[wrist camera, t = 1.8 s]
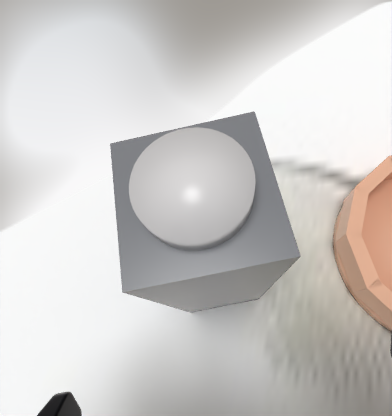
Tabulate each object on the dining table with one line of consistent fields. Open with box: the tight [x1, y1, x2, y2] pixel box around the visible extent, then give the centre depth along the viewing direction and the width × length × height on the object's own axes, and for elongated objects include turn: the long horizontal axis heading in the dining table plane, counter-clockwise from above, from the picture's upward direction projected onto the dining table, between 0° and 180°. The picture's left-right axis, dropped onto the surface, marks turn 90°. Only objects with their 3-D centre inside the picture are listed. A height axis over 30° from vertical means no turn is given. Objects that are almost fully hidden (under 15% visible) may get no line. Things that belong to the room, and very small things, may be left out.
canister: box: [110, 112, 300, 312], centre depth 14 cm, size 4×4×14 cm
